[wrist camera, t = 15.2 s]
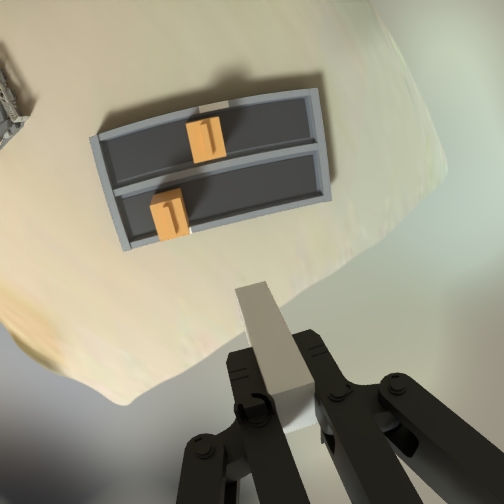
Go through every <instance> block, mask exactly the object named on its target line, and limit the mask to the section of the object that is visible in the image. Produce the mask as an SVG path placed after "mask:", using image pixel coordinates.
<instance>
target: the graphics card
mask: <svg viewBox="0 0 504 504" xmlns="http://www.w3.org/2000/svg"><path fill="white" fill-rule="evenodd" d="M6 81H7V79H6V77H5V75H4V73H3V71H2V69H0V88H1V91H0V94H1V92H2V93H3V94H4V95H3V97H1V96H0V141H1V140H2V139H3V138H2V136H4V139H3V141H2V143H1V146H0V150H1V149H2V148H3V147H4V146H5V145H6V144H7V142H8V141H9V140H10V139H11V138H12V137H13V136H14V135H15V134H16V133H17V132H18V131H19V130H20V129H21V128H22V127H23V126H24V121H26V120H27V119H28V118H30V116H24V117H22V116H21V114H20V112H19V110H18V109H17V107H16V105H15V104H16V103H17V102H16V101H14V100H15V99H16V98H17V97H16V96H15V94H14V92H13V90H10V88H9V87H7V88H6V86H7V83H5V82H6ZM4 96H5V97H4ZM3 99H4V100H5V101H6V102H4V100H3ZM7 106H9V107H7ZM7 108H10V109H7ZM8 110H10V111H8ZM9 118H10V119H11V120H8V119H9ZM21 123H22V125H21Z"/></svg>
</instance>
